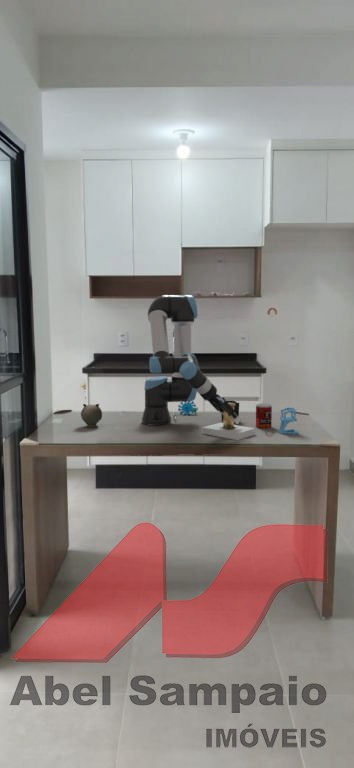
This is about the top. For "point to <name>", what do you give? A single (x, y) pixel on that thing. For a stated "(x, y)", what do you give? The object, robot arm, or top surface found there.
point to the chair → (287, 421)
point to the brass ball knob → (228, 419)
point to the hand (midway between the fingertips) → (235, 420)
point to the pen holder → (234, 408)
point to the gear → (187, 408)
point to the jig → (229, 431)
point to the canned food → (263, 415)
